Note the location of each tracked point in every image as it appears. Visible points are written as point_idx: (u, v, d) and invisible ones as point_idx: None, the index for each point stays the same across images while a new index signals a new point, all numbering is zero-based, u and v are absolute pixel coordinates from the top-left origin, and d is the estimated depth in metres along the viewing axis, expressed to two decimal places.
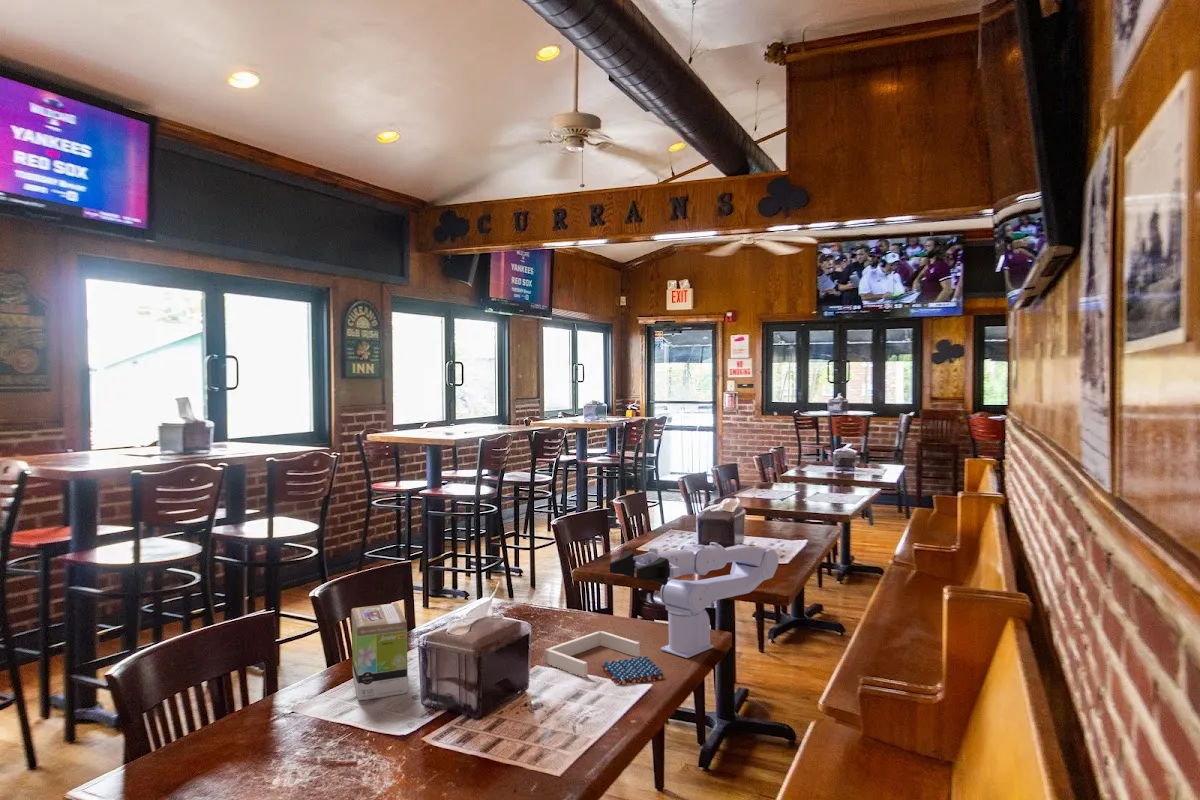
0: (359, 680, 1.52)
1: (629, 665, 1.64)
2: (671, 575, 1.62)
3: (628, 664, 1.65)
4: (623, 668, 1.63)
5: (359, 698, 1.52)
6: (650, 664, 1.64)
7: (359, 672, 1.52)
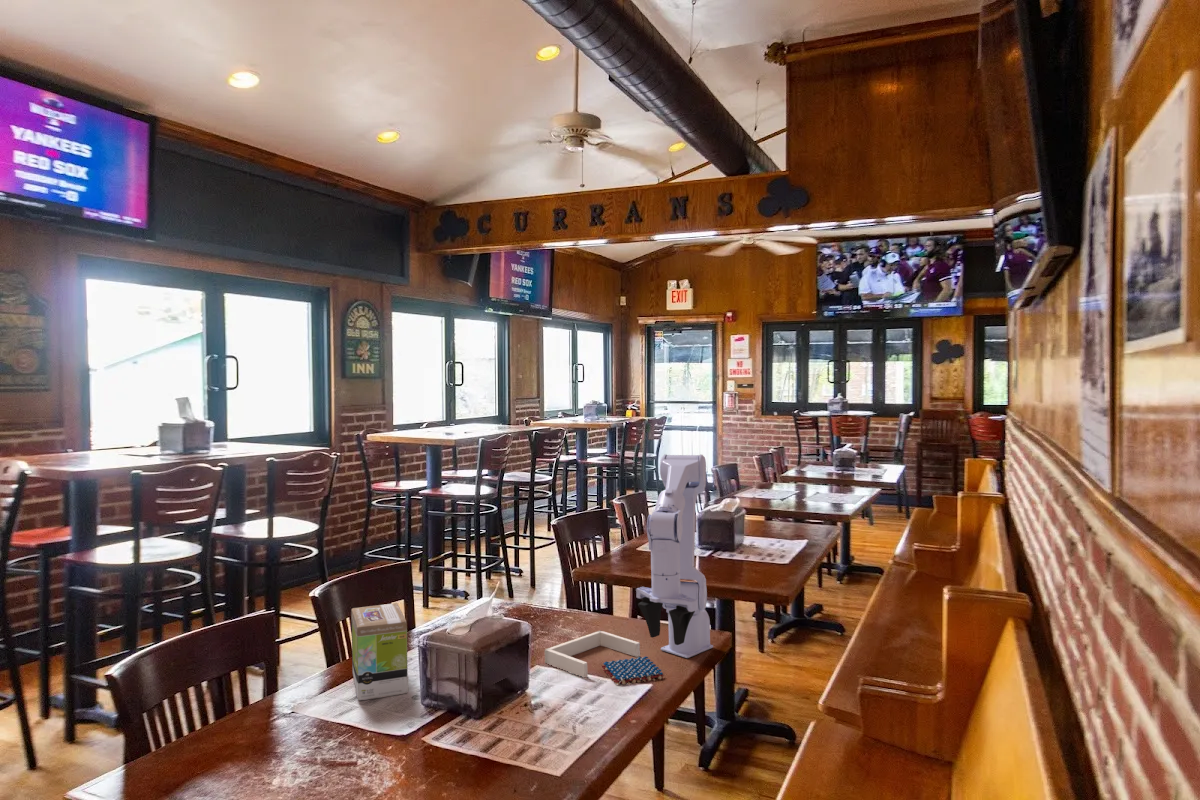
0: (359, 680, 1.52)
1: (629, 665, 1.64)
2: None
3: (628, 664, 1.65)
4: (623, 668, 1.63)
5: (359, 698, 1.52)
6: (650, 664, 1.64)
7: (359, 672, 1.52)
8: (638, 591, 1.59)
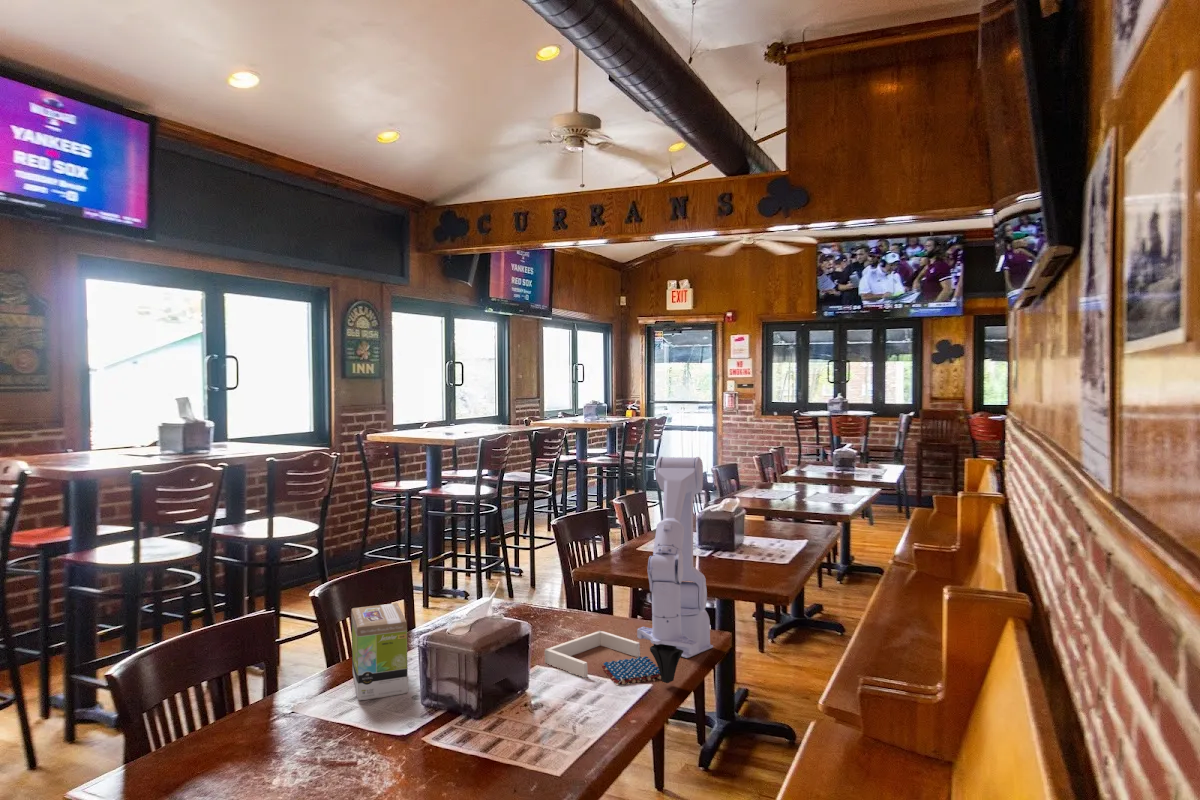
0: (359, 680, 1.52)
1: (629, 665, 1.64)
2: None
3: (628, 664, 1.65)
4: (623, 668, 1.63)
5: (359, 698, 1.52)
6: (650, 664, 1.64)
7: (359, 672, 1.52)
8: (639, 631, 1.59)
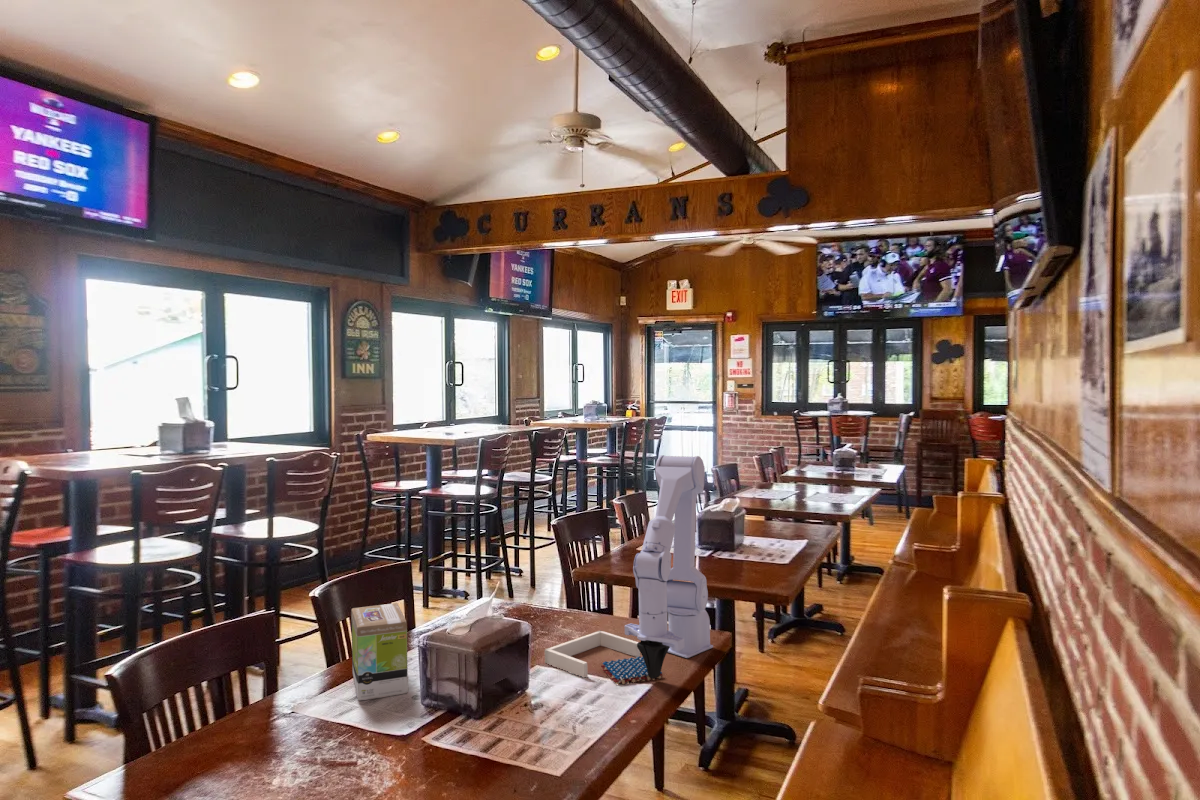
0: (359, 680, 1.52)
1: (628, 665, 1.64)
2: None
3: (627, 664, 1.65)
4: (622, 668, 1.63)
5: (359, 698, 1.52)
6: None
7: (359, 672, 1.52)
8: (626, 628, 1.62)
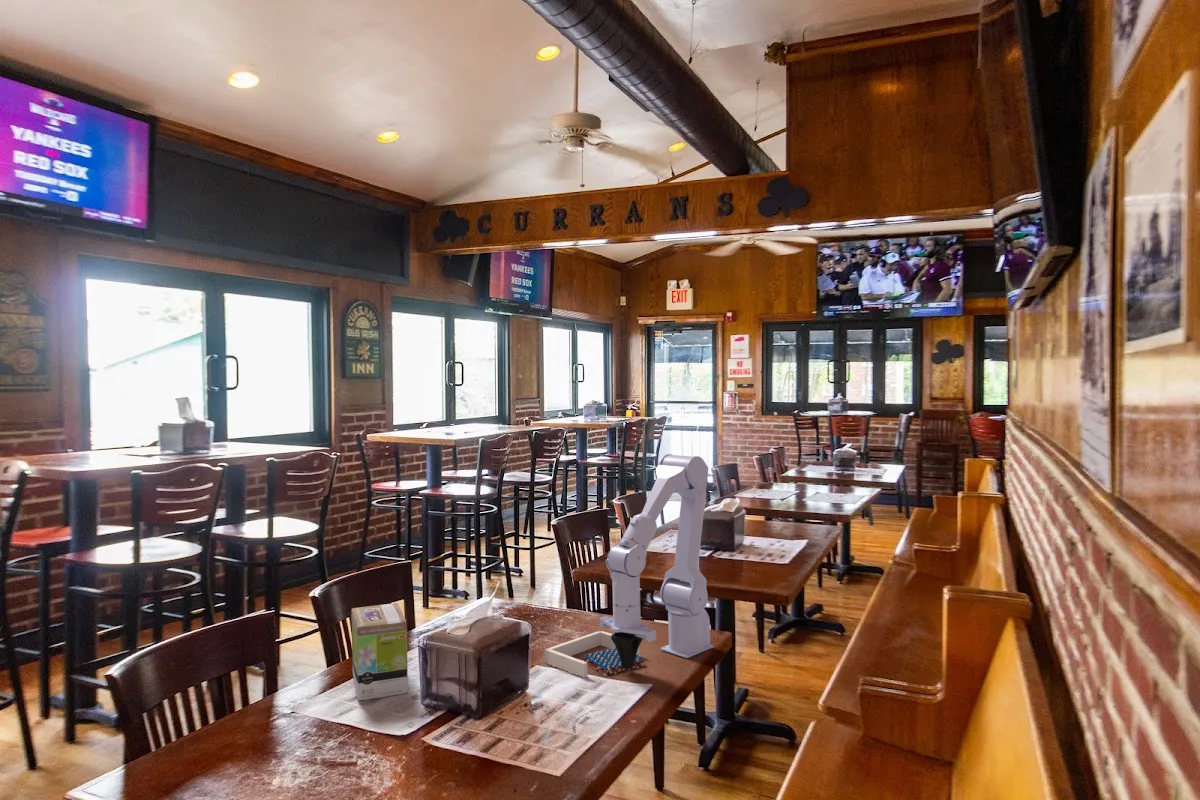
0: (359, 680, 1.52)
1: (609, 655, 1.70)
2: None
3: (608, 654, 1.70)
4: (605, 658, 1.68)
5: (359, 698, 1.52)
6: None
7: (359, 672, 1.52)
8: (601, 620, 1.67)
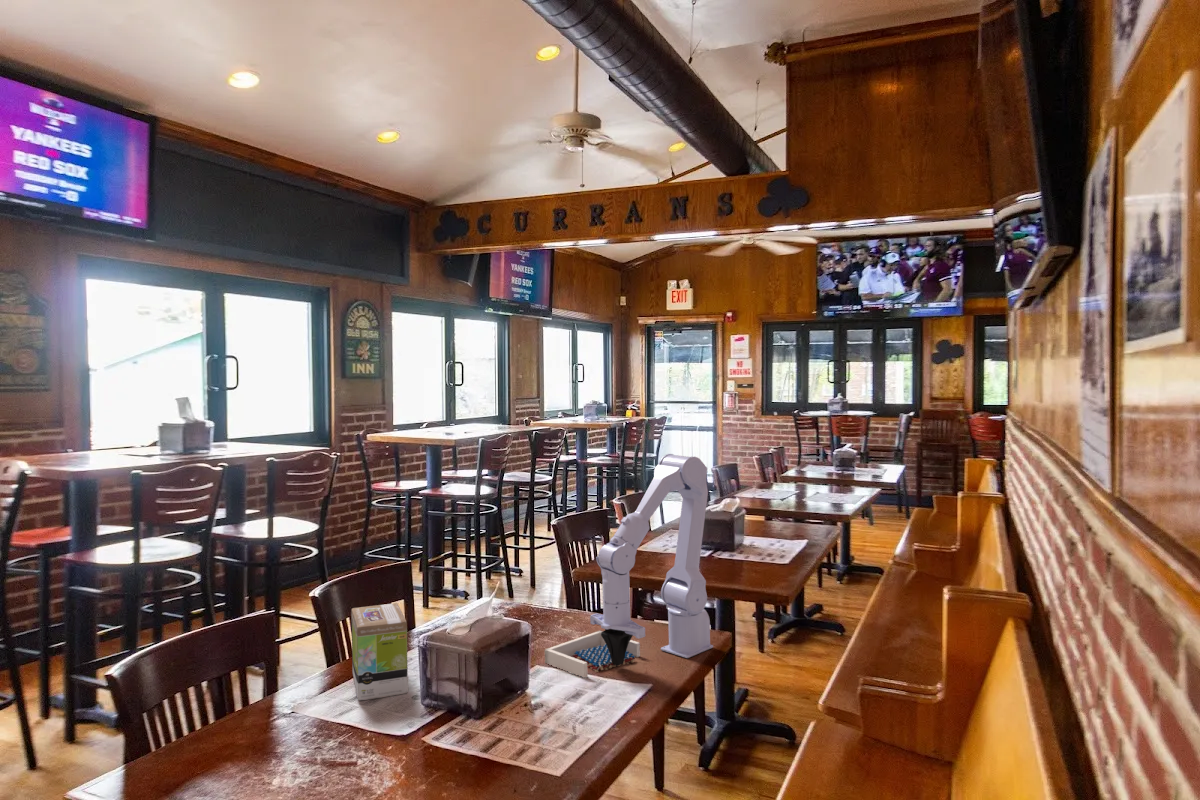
0: (359, 680, 1.52)
1: (600, 652, 1.72)
2: None
3: (598, 651, 1.73)
4: (596, 655, 1.70)
5: (359, 698, 1.52)
6: None
7: (359, 672, 1.52)
8: (592, 617, 1.69)
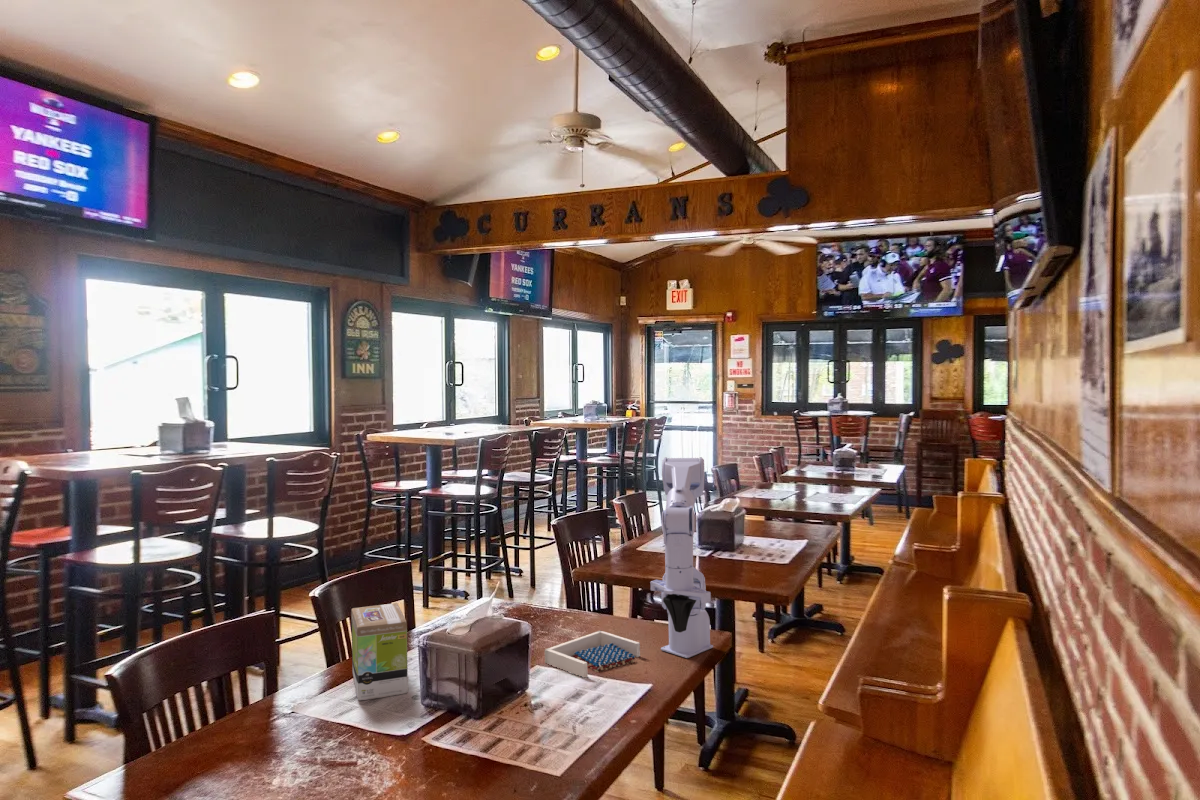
0: (359, 680, 1.52)
1: (600, 652, 1.72)
2: None
3: (598, 651, 1.73)
4: (596, 655, 1.70)
5: (359, 698, 1.52)
6: (619, 650, 1.73)
7: (359, 672, 1.52)
8: (652, 583, 1.64)
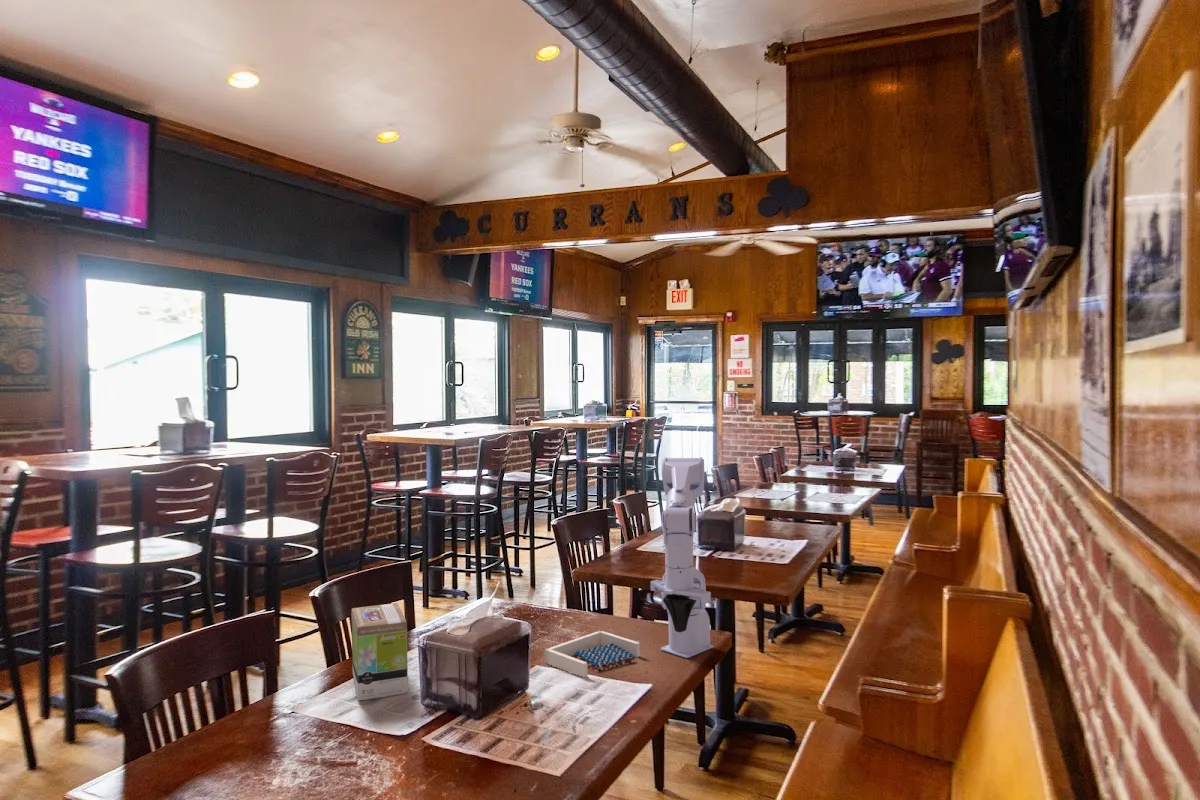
0: (359, 680, 1.52)
1: (600, 652, 1.72)
2: None
3: (598, 651, 1.73)
4: (596, 655, 1.70)
5: (359, 698, 1.52)
6: (619, 650, 1.73)
7: (359, 672, 1.52)
8: (652, 583, 1.64)
